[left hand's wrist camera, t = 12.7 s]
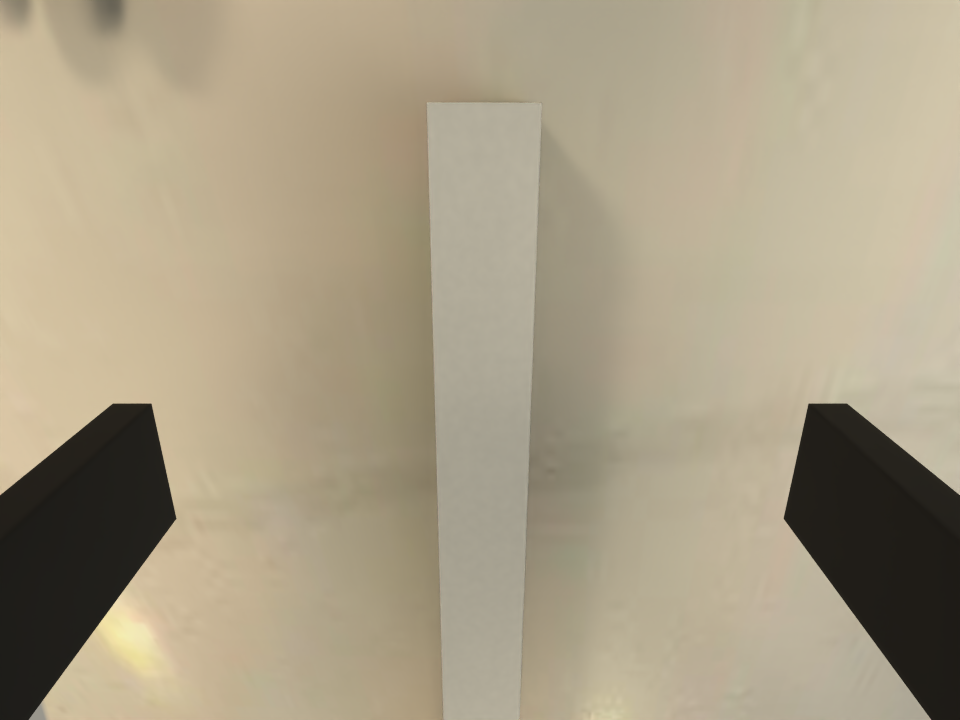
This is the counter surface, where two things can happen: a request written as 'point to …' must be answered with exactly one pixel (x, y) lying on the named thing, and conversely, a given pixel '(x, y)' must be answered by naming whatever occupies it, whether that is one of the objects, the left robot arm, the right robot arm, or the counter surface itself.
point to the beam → (482, 389)
